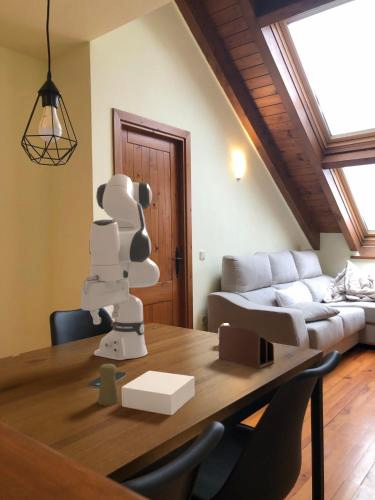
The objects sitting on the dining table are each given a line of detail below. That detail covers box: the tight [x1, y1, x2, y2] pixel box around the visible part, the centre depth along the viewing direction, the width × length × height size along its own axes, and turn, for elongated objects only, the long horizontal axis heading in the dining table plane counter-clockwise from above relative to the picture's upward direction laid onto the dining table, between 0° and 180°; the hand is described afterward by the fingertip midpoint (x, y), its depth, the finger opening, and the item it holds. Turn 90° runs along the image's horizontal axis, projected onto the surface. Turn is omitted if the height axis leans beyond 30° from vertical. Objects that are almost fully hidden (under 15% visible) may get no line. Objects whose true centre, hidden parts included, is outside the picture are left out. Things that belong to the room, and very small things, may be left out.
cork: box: [97, 363, 119, 406], centre depth 123 cm, size 6×6×11 cm
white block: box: [121, 370, 196, 416], centre depth 123 cm, size 16×16×6 cm
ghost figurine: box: [216, 322, 231, 340], centre depth 184 cm, size 9×10×10 cm
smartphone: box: [87, 371, 127, 389], centre depth 142 cm, size 8×1×15 cm
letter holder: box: [218, 325, 275, 370], centre depth 161 cm, size 10×20×14 cm, turn 44°
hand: (106, 320), depth 122 cm, fingers open, 8 cm apart
